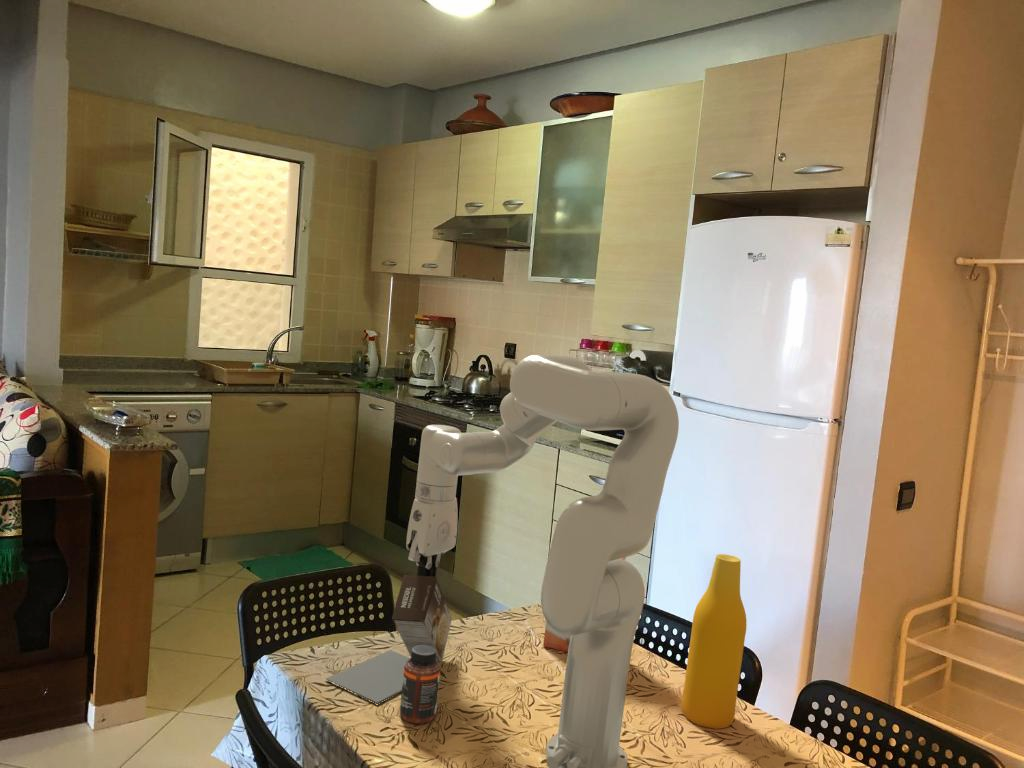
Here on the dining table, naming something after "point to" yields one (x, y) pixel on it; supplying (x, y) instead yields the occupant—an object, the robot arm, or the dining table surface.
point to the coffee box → (422, 614)
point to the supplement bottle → (420, 685)
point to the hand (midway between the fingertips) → (425, 586)
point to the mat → (374, 677)
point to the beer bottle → (716, 648)
